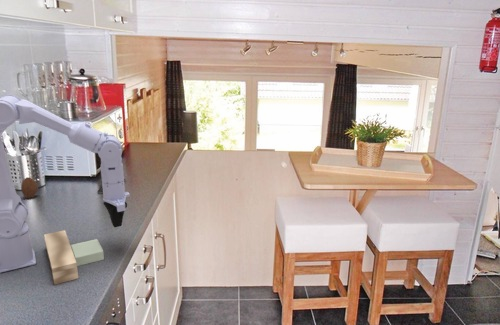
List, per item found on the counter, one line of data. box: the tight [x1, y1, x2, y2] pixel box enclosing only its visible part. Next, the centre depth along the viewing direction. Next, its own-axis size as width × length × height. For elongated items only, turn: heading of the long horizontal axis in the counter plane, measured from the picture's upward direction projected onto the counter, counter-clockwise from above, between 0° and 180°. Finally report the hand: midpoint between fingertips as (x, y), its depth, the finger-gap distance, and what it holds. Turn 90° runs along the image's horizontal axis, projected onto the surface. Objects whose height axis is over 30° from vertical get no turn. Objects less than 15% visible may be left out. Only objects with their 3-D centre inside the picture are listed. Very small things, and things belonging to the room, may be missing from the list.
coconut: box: [20, 177, 39, 199], centre depth 147 cm, size 5×5×8 cm
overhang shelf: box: [43, 230, 79, 286], centre depth 106 cm, size 6×20×4 cm, turn 31°
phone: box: [97, 178, 127, 195], centre depth 160 cm, size 8×1×15 cm
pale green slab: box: [70, 238, 105, 267], centre depth 109 cm, size 7×8×2 cm
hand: (117, 225), depth 112 cm, fingers closed
